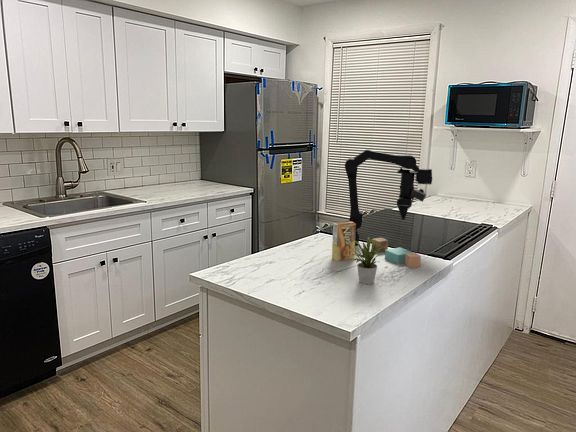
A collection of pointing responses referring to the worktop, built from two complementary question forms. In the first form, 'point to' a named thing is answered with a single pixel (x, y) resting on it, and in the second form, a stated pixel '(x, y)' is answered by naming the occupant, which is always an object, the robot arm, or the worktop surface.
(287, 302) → the worktop surface
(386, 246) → the walnut cube
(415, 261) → the terracotta cube
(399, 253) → the teal base block
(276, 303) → the worktop surface
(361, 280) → the house plant
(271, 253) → the worktop surface
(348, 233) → the candy box
